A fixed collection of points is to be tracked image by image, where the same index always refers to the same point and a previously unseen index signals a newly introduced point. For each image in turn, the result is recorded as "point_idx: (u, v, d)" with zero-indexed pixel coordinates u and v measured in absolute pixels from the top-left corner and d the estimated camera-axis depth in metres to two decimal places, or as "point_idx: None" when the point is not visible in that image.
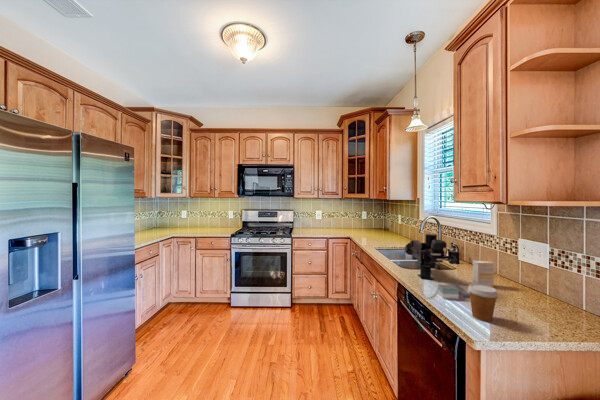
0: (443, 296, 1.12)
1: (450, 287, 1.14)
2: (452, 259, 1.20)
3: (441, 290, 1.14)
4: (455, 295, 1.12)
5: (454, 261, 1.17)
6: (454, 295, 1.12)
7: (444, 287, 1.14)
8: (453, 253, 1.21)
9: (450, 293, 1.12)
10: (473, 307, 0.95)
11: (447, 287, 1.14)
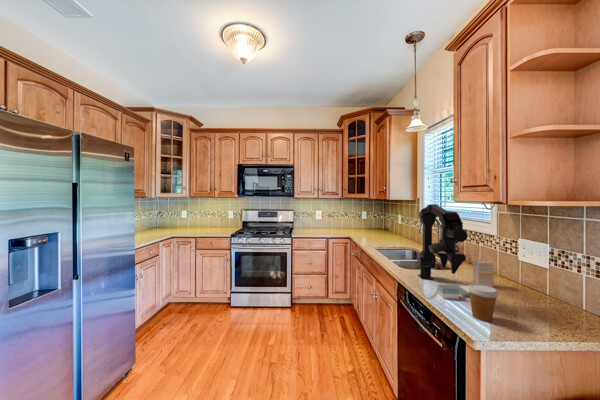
0: (443, 296, 1.12)
1: (450, 287, 1.14)
2: None
3: (441, 290, 1.14)
4: (455, 295, 1.12)
5: None
6: (454, 295, 1.12)
7: (444, 287, 1.14)
8: (449, 260, 1.09)
9: (450, 293, 1.12)
10: (473, 307, 0.95)
11: (447, 287, 1.14)
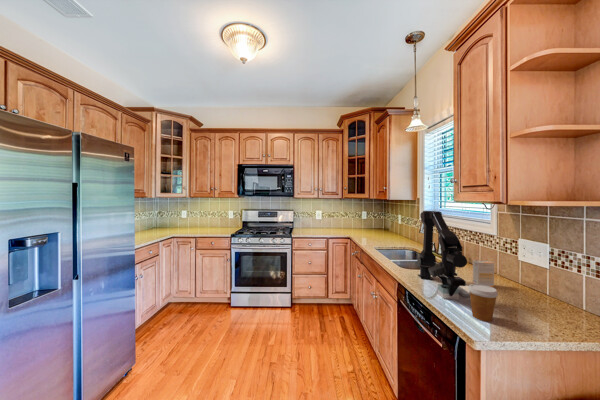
0: (443, 296, 1.12)
1: None
2: None
3: (441, 290, 1.14)
4: (455, 294, 1.12)
5: None
6: (454, 295, 1.12)
7: (444, 287, 1.14)
8: (446, 283, 1.11)
9: None
10: (473, 307, 0.95)
11: (447, 286, 1.14)
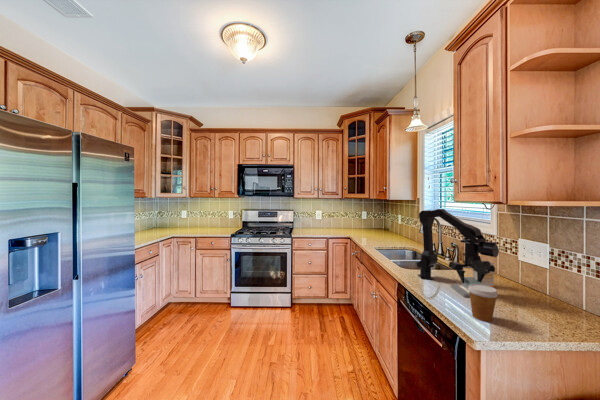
0: None
1: (471, 278, 1.20)
2: (479, 274, 1.19)
3: None
4: None
5: (478, 279, 1.20)
6: None
7: (475, 280, 1.17)
8: (485, 273, 1.16)
9: None
10: (473, 307, 0.95)
11: (472, 279, 1.19)
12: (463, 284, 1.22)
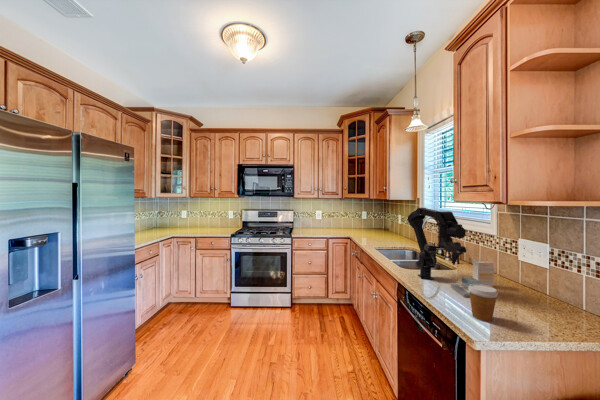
0: None
1: (471, 278, 1.20)
2: (454, 255, 1.26)
3: None
4: None
5: (453, 260, 1.26)
6: None
7: (475, 280, 1.17)
8: (459, 254, 1.23)
9: None
10: (473, 307, 0.95)
11: (472, 279, 1.19)
12: (463, 284, 1.22)
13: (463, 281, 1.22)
